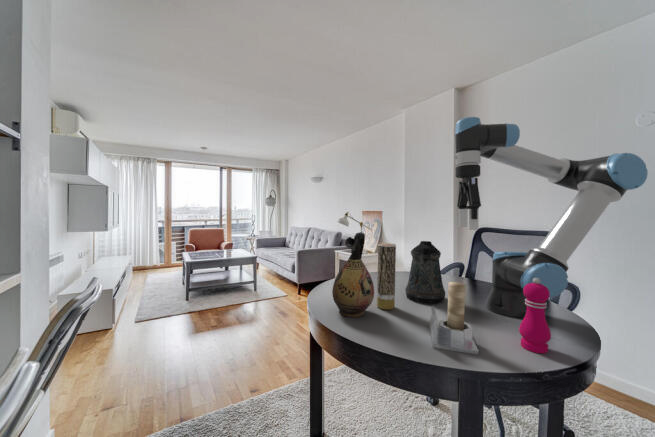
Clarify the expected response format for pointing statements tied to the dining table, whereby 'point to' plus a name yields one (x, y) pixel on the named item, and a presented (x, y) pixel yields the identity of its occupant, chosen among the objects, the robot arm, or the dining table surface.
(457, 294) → the wooden spindle
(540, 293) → the pepper mill
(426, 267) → the black tapered vessel
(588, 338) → the dining table surface
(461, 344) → the cup bracket
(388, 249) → the paper tube
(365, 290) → the ceramic jug
